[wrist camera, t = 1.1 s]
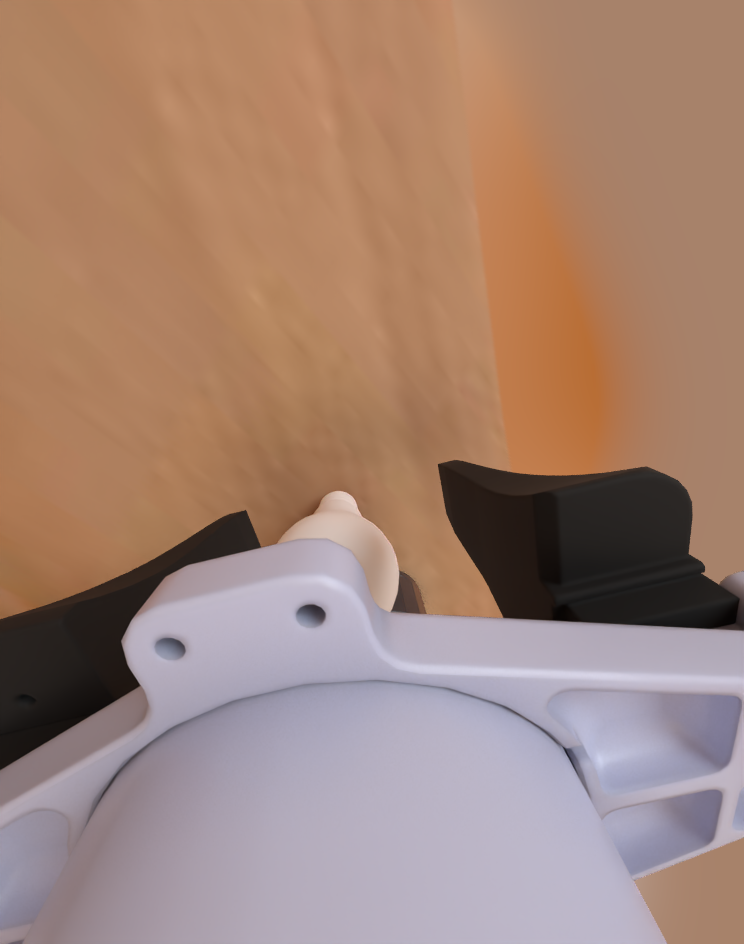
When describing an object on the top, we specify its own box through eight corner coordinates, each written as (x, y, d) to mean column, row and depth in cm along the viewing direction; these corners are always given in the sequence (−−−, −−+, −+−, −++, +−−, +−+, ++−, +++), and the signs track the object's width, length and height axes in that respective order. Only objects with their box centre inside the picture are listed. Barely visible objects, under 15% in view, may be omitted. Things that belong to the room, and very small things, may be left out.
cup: (393, 640, 28) (401, 692, 24) (329, 612, 27) (326, 662, 23) (435, 587, 27) (451, 633, 23) (369, 555, 25) (373, 598, 21)
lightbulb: (401, 497, 24) (440, 614, 14) (344, 556, 25) (341, 703, 15) (332, 442, 22) (317, 526, 12) (275, 508, 24) (217, 636, 13)
